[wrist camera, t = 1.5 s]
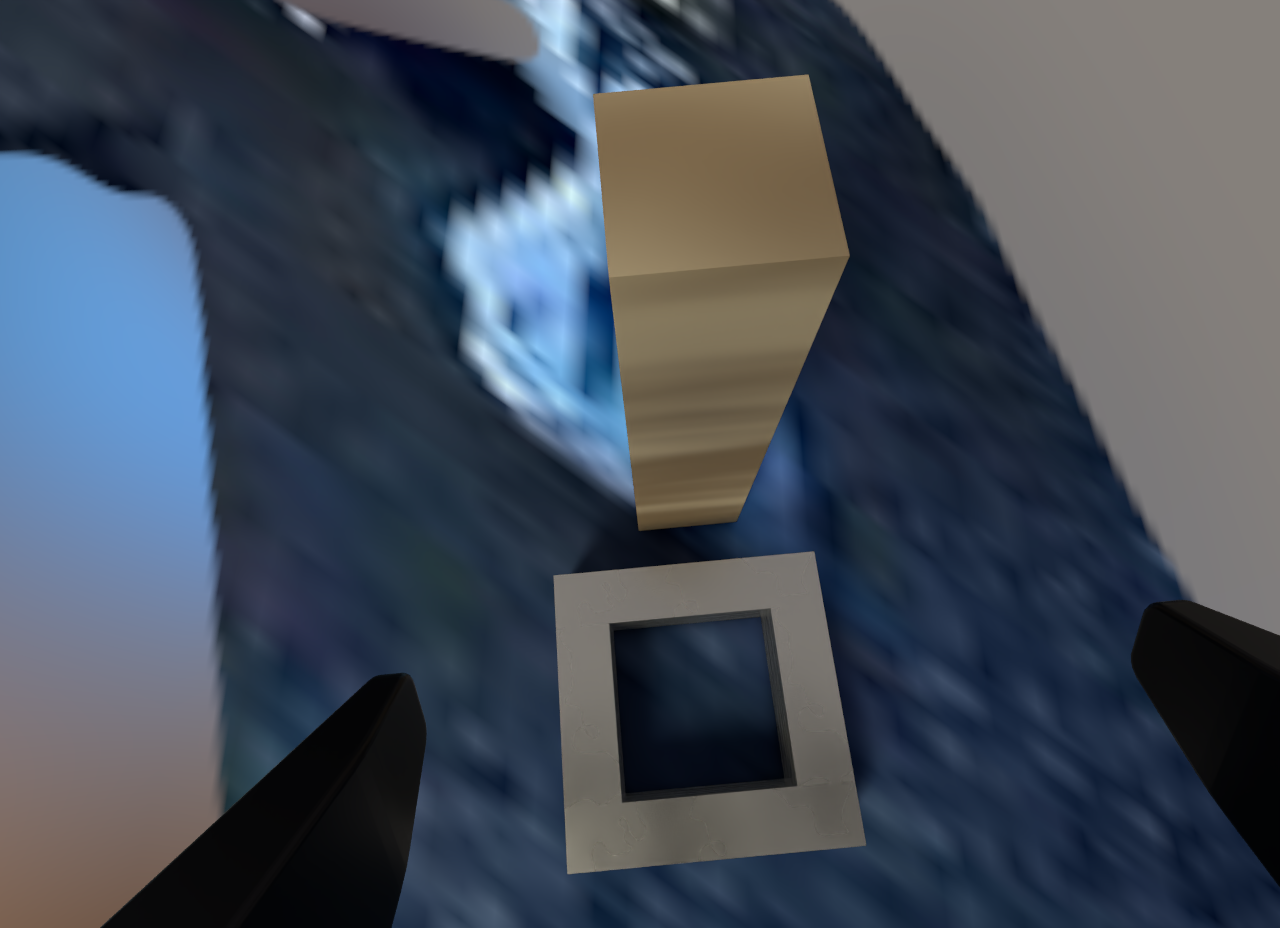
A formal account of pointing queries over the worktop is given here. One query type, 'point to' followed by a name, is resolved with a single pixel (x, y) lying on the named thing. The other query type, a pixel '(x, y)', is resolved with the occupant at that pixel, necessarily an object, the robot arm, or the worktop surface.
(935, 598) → the worktop surface
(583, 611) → the socket plate
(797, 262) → the pin
